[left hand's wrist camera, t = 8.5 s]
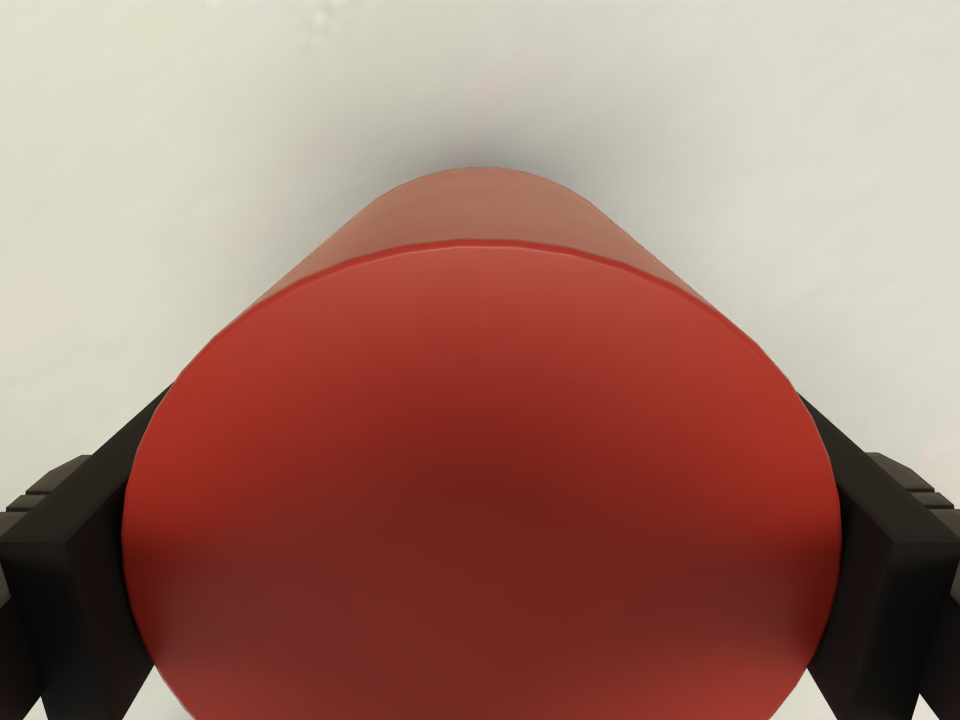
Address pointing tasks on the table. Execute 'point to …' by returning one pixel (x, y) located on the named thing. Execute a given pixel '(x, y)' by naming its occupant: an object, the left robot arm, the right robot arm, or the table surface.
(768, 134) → the table surface
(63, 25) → the table surface
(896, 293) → the table surface
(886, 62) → the table surface
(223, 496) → the canister
